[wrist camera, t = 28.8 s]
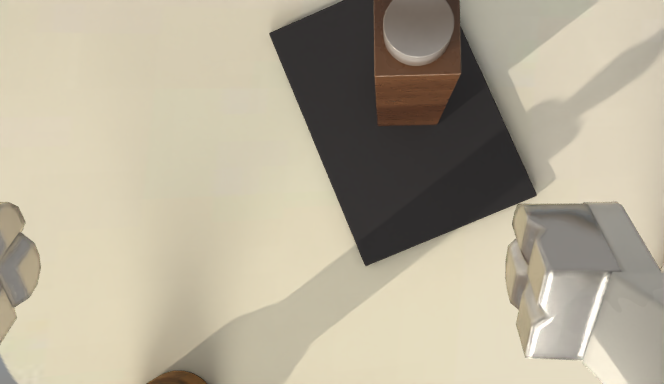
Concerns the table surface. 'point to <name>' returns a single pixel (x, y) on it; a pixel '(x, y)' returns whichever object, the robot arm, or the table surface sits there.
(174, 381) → the mortar and pestle
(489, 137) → the charcoal mat
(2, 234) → the robot arm
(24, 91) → the table surface
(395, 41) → the pepper mill
